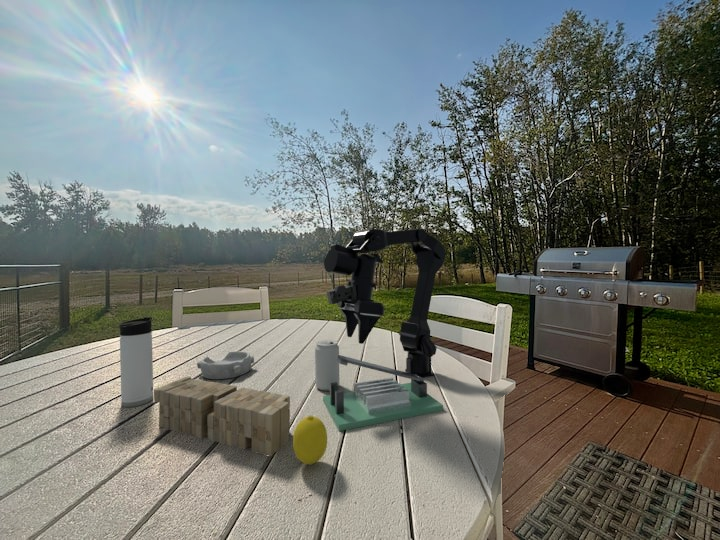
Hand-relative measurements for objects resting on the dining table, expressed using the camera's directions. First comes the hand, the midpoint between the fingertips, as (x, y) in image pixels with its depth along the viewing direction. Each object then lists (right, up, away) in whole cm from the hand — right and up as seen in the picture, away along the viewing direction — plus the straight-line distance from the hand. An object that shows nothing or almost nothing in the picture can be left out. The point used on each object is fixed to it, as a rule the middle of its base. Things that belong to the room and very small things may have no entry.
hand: (354, 340), depth 76 cm
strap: (+6, -6, -6) cm, 10 cm away
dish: (-39, -14, +17) cm, 45 cm away
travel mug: (-52, -15, -2) cm, 54 cm away
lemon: (-7, -15, -26) cm, 31 cm away
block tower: (-26, -15, -16) cm, 34 cm away
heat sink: (+6, -13, -6) cm, 15 cm away
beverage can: (-7, -14, +5) cm, 17 cm away
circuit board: (+6, -14, -6) cm, 16 cm away
